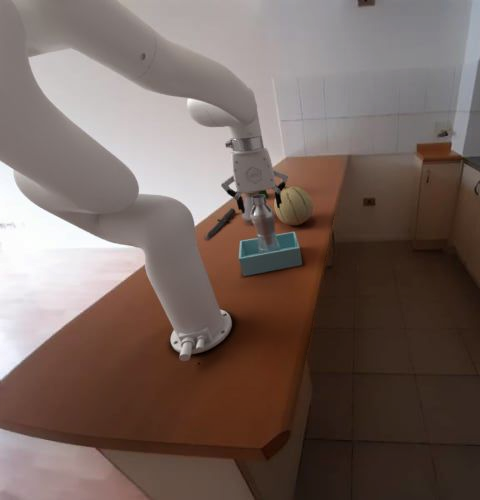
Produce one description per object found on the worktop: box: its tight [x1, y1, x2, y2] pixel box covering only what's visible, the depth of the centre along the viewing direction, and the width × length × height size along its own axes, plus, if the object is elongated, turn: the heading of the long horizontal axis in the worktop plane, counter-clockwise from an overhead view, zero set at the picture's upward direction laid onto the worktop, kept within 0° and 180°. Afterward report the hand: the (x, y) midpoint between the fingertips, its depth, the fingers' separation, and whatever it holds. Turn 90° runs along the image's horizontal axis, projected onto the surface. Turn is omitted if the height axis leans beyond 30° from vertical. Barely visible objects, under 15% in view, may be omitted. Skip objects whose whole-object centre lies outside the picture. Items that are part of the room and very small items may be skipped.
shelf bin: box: [238, 231, 303, 277], centre depth 85 cm, size 11×17×6 cm, turn 104°
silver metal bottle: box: [250, 194, 281, 254], centre depth 81 cm, size 6×7×20 cm
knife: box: [206, 207, 236, 240], centre depth 112 cm, size 24×5×3 cm, turn 168°
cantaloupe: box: [273, 185, 314, 226], centre depth 106 cm, size 15×15×15 cm
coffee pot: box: [241, 191, 260, 225], centre depth 115 cm, size 21×12×15 cm, turn 174°
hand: (261, 209), depth 78 cm, fingers open, 9 cm apart
